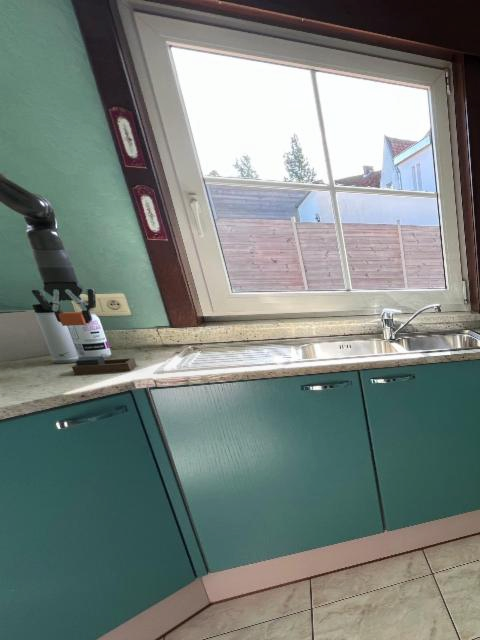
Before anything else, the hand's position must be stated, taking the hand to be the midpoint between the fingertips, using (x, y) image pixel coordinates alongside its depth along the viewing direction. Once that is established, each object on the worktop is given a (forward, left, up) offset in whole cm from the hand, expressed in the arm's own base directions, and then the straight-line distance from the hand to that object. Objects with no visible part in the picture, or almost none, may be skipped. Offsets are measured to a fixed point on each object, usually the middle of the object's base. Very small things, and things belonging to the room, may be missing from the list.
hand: (76, 322), depth 155 cm
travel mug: (-10, +17, -15) cm, 25 cm away
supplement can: (-4, +23, -15) cm, 28 cm away
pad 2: (+1, -3, -14) cm, 15 cm away
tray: (+4, -3, -15) cm, 16 cm away
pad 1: (0, 0, 0) cm, 0 cm away
